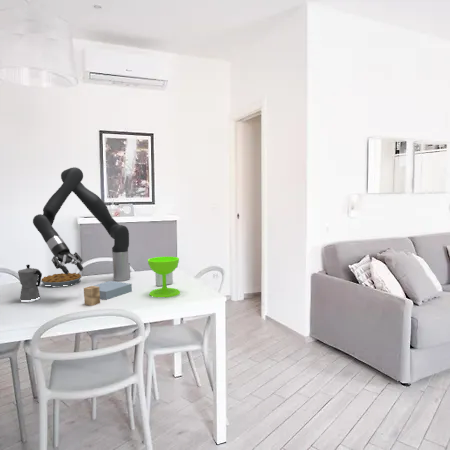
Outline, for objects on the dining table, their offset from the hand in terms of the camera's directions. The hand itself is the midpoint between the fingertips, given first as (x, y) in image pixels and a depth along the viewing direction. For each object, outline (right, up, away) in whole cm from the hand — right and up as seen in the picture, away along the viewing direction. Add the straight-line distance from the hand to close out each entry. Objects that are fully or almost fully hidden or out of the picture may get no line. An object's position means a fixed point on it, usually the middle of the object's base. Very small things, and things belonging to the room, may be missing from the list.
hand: (74, 271), depth 192 cm
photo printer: (+39, -11, +31) cm, 51 cm away
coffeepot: (-23, -15, +4) cm, 28 cm away
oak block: (+10, -15, -4) cm, 18 cm away
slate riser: (+12, -13, +14) cm, 23 cm away
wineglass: (+42, -13, +12) cm, 46 cm away
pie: (-23, -12, +40) cm, 47 cm away
